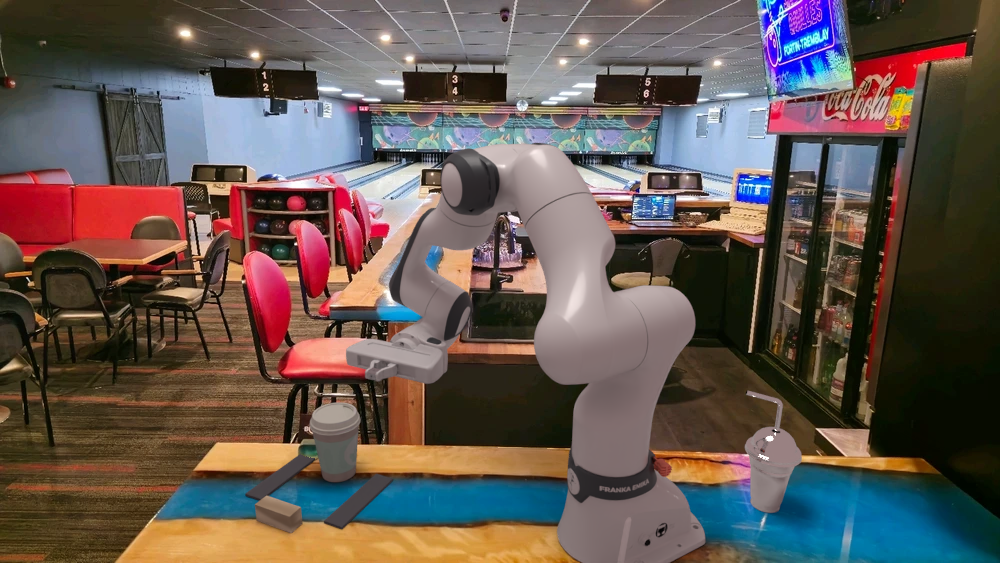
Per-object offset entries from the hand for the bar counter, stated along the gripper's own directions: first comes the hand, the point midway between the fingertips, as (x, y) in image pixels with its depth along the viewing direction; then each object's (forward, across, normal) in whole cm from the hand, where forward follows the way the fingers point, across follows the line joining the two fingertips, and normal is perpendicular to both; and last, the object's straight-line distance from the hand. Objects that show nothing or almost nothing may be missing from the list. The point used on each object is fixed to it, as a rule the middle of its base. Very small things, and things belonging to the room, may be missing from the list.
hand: (371, 376), depth 116 cm
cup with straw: (-11, +70, +13) cm, 72 cm away
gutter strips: (+16, 0, +14) cm, 21 cm away
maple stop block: (+26, +1, +14) cm, 29 cm away
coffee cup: (+11, 0, +14) cm, 18 cm away
